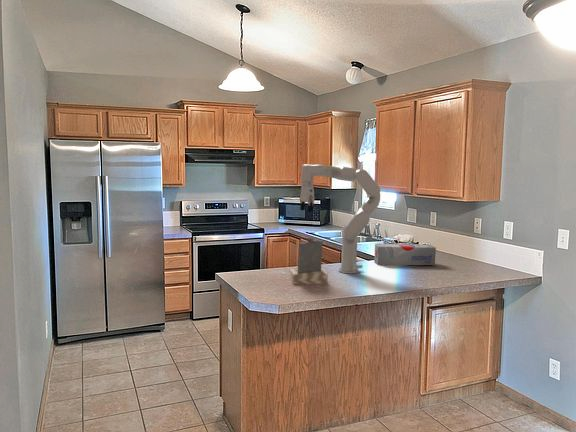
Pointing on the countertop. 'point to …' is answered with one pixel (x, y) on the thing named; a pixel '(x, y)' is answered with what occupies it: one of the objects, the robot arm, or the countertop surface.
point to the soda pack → (404, 254)
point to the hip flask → (310, 256)
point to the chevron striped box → (309, 277)
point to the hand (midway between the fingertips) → (306, 210)
